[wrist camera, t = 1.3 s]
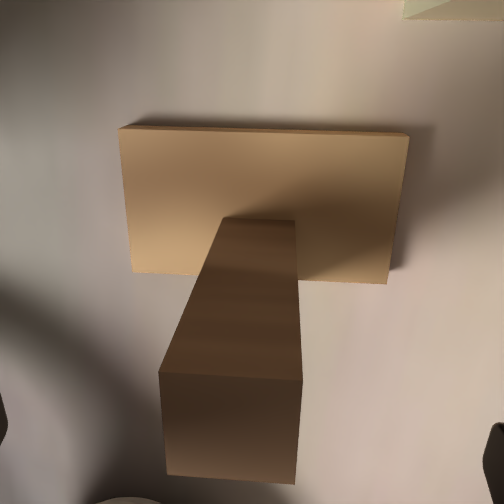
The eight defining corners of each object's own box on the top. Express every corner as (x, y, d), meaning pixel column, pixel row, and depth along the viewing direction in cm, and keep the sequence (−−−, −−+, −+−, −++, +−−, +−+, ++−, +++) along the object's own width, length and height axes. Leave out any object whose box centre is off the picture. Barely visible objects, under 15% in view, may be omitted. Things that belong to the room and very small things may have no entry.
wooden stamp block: (380, 276, 16) (477, 498, 8) (141, 265, 17) (-2, 462, 8) (401, 132, 14) (564, 227, 6) (128, 124, 15) (-78, 201, 6)
